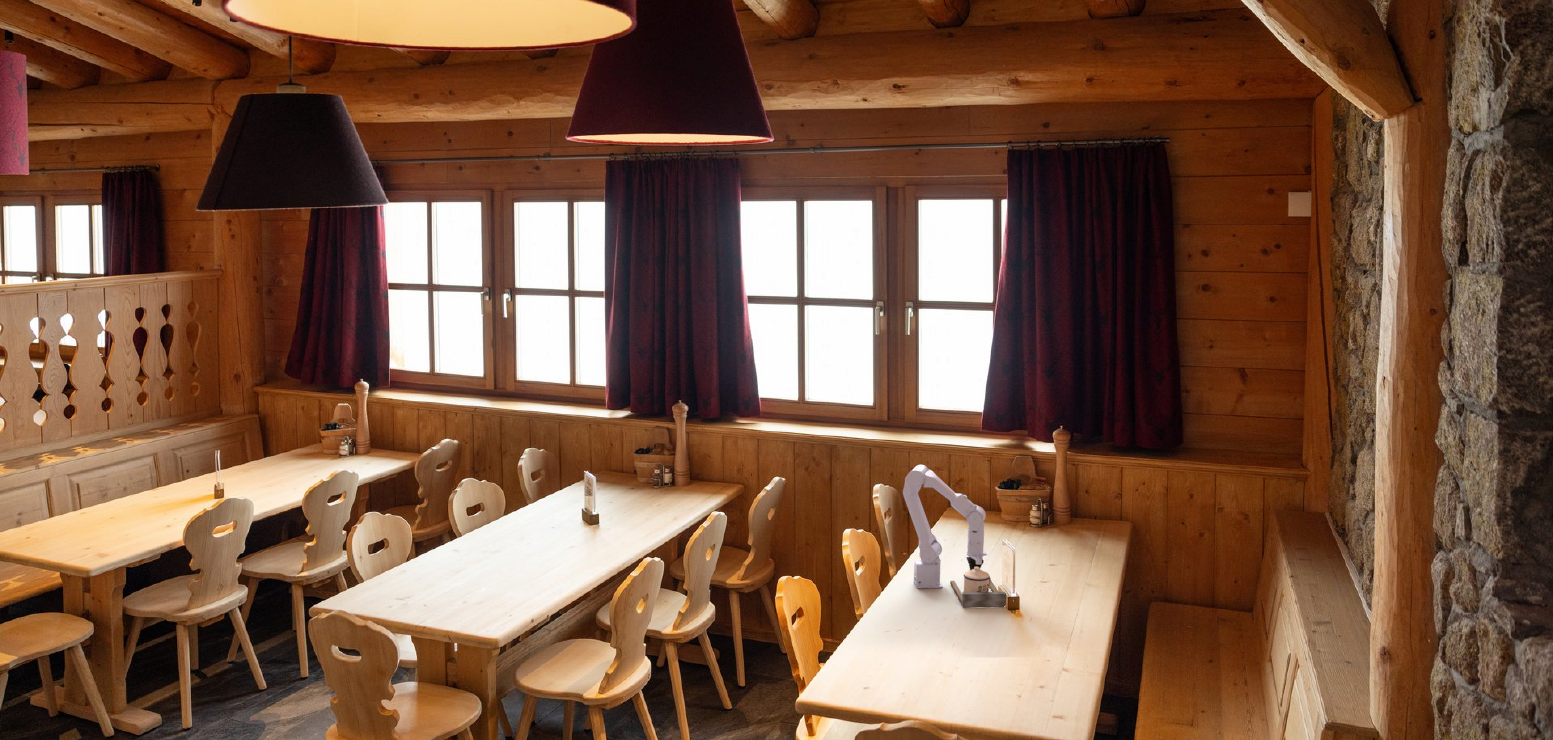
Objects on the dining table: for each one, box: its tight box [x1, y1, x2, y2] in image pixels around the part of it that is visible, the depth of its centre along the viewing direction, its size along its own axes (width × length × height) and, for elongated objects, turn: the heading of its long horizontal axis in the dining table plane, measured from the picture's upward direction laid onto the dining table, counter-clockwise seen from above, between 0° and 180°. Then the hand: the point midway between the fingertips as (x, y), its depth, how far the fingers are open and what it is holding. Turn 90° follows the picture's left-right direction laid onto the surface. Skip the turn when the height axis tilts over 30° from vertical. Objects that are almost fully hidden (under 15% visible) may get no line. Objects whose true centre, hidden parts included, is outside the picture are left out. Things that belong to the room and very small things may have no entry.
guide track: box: [949, 580, 1007, 609], centre depth 423 cm, size 15×24×5 cm, turn 2°
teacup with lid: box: [963, 567, 992, 592], centre depth 420 cm, size 12×9×12 cm
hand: (974, 577), depth 428 cm, fingers closed
